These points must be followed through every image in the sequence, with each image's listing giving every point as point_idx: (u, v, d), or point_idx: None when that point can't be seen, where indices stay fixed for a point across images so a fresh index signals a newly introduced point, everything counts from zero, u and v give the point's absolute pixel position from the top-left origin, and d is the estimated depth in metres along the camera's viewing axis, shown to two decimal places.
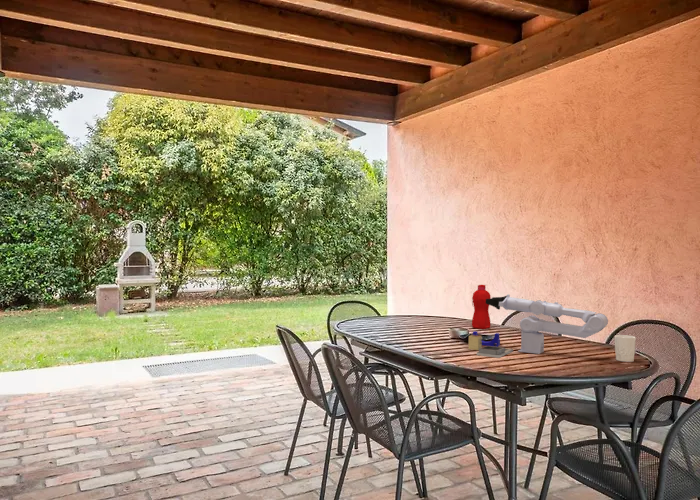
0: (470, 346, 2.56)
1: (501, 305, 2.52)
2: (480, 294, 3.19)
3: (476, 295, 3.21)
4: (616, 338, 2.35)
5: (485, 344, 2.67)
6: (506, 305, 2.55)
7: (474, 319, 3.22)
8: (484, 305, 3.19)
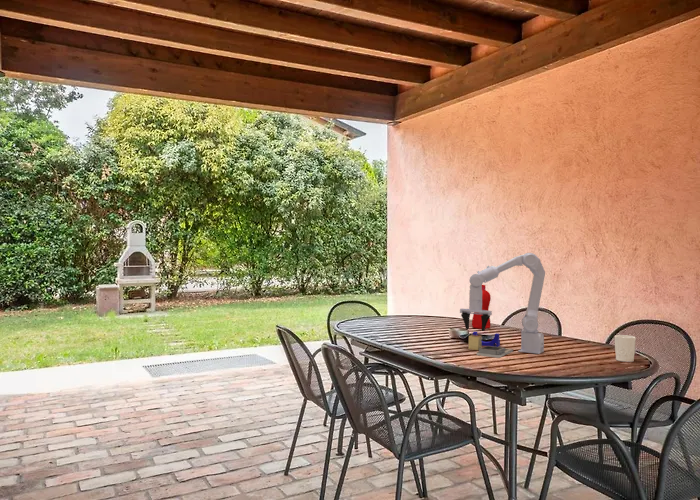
0: (470, 346, 2.56)
1: (491, 312, 2.53)
2: None
3: None
4: (616, 338, 2.35)
5: (485, 344, 2.66)
6: None
7: (474, 319, 3.22)
8: (484, 305, 3.19)
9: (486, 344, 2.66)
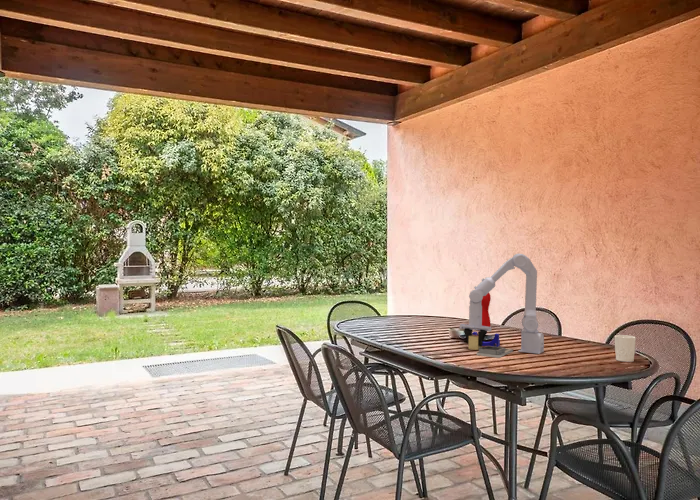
0: (470, 346, 2.56)
1: None
2: None
3: None
4: (616, 338, 2.35)
5: (485, 344, 2.65)
6: (481, 325, 2.56)
7: None
8: (484, 305, 3.19)
9: (486, 344, 2.65)
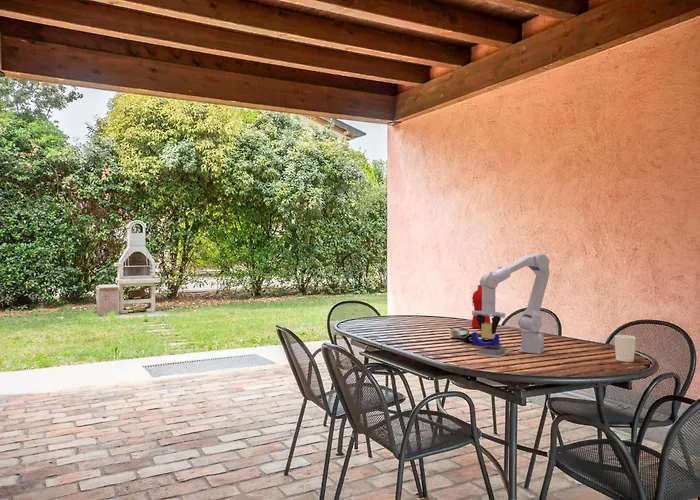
0: (483, 334, 2.46)
1: None
2: (480, 294, 3.19)
3: (476, 295, 3.21)
4: (616, 338, 2.35)
5: (485, 345, 2.65)
6: None
7: (474, 319, 3.22)
8: None
9: (486, 344, 2.65)
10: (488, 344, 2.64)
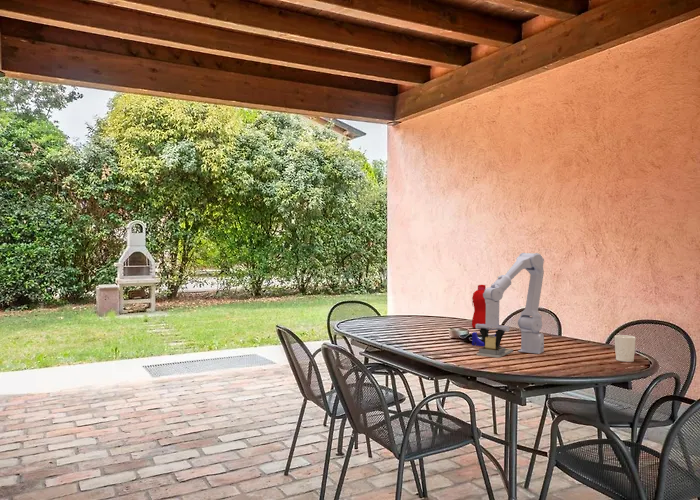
0: (487, 348, 2.43)
1: None
2: (480, 294, 3.19)
3: (476, 295, 3.21)
4: (616, 338, 2.35)
5: None
6: (499, 325, 2.43)
7: (474, 319, 3.22)
8: (484, 305, 3.19)
9: None
10: None
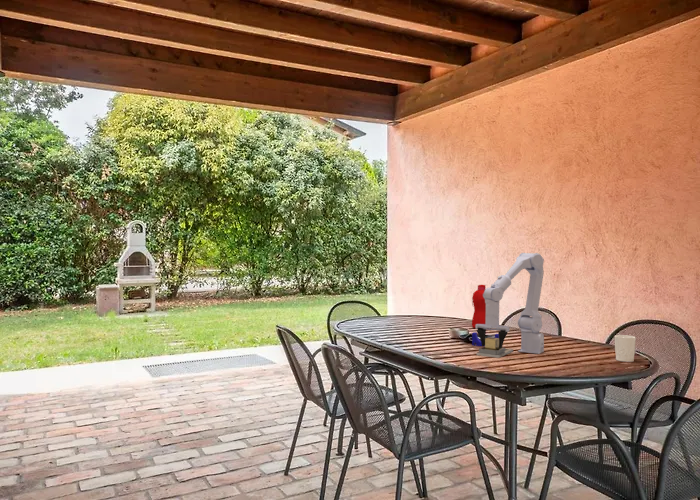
0: None
1: None
2: (480, 294, 3.19)
3: (476, 295, 3.21)
4: (616, 338, 2.35)
5: None
6: (499, 325, 2.43)
7: (474, 319, 3.22)
8: (484, 305, 3.19)
9: None
10: None
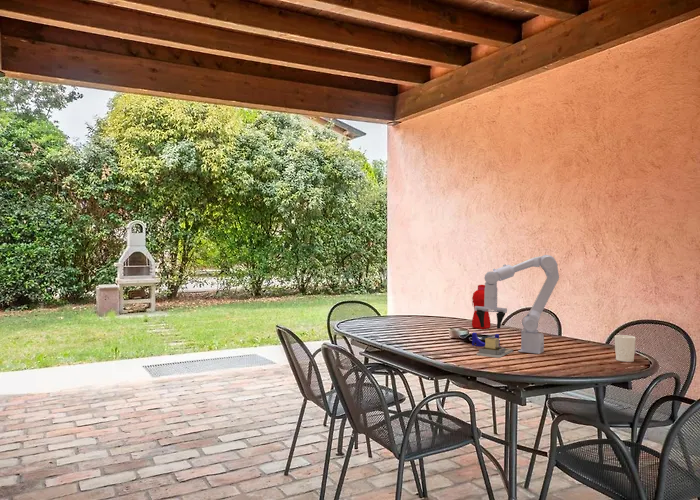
0: None
1: (506, 309, 2.53)
2: (480, 294, 3.19)
3: (476, 295, 3.21)
4: (616, 338, 2.35)
5: None
6: (497, 307, 2.55)
7: (474, 319, 3.22)
8: None
9: None
10: None
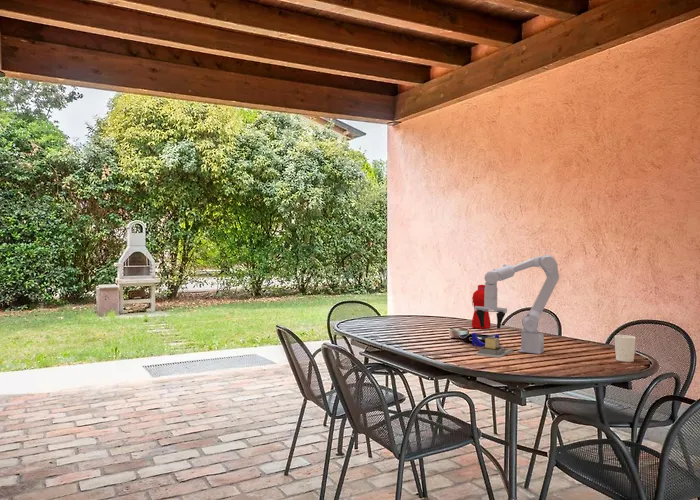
0: None
1: (506, 309, 2.53)
2: (480, 294, 3.19)
3: (476, 295, 3.21)
4: (616, 338, 2.35)
5: None
6: (497, 307, 2.55)
7: (474, 319, 3.22)
8: None
9: None
10: None
